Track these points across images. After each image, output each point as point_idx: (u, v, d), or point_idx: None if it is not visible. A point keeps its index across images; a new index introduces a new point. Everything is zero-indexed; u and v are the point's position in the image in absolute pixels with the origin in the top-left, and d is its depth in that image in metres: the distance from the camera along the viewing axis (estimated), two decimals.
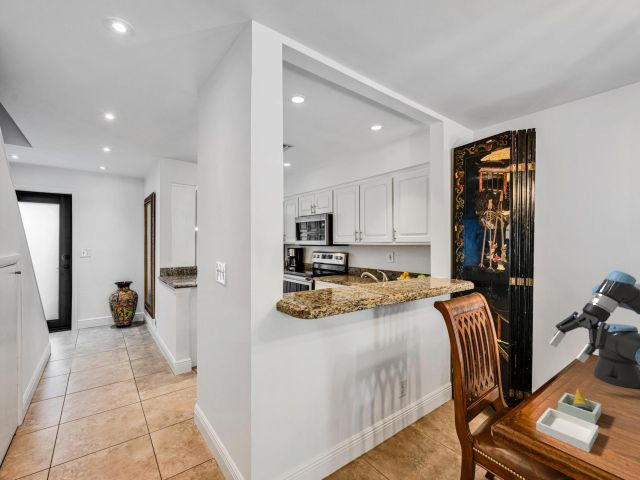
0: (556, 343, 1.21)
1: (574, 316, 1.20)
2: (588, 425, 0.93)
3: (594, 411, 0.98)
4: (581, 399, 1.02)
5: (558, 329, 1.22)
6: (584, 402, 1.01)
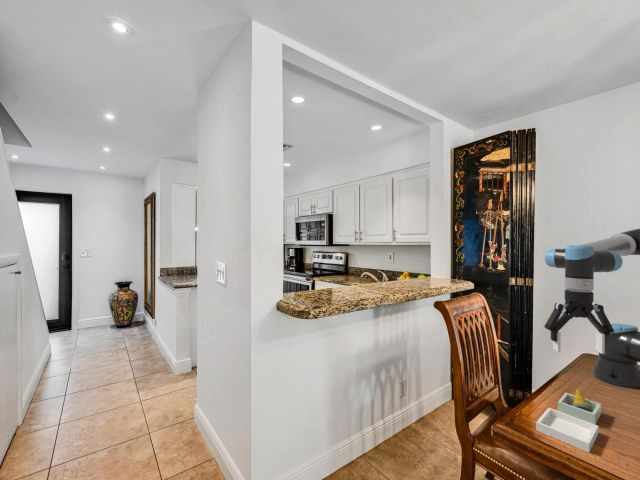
0: None
1: None
2: (588, 425, 0.93)
3: (594, 411, 0.98)
4: (581, 399, 1.02)
5: (555, 332, 1.02)
6: (584, 402, 1.01)
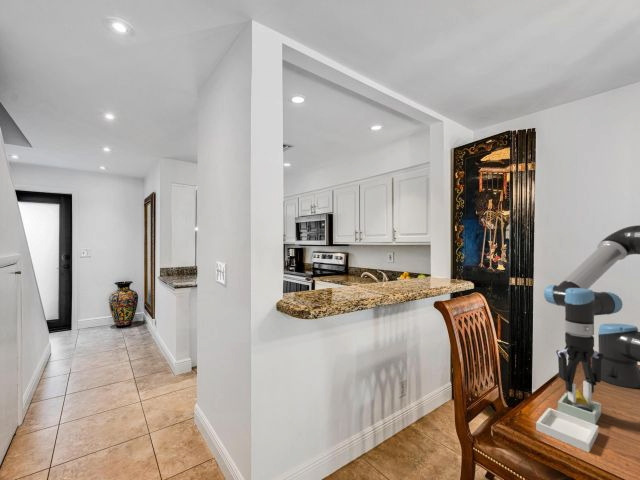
0: None
1: (565, 357, 1.02)
2: (588, 425, 0.93)
3: (594, 411, 0.98)
4: (581, 399, 1.02)
5: (571, 382, 1.02)
6: (584, 402, 1.01)
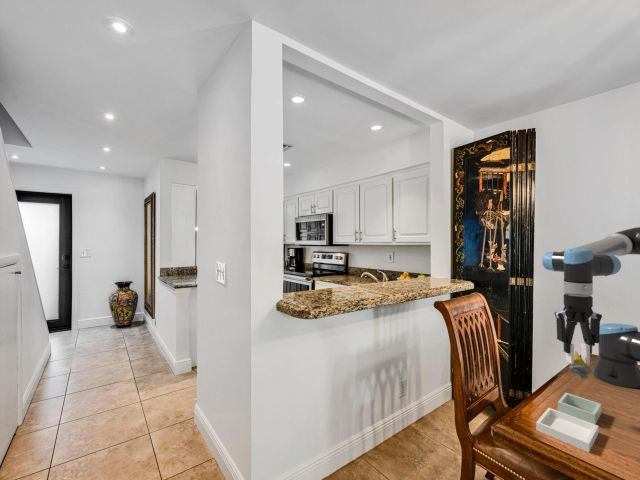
0: None
1: None
2: (588, 425, 0.93)
3: (594, 411, 0.98)
4: (579, 360, 1.01)
5: (569, 343, 1.01)
6: (582, 363, 1.00)
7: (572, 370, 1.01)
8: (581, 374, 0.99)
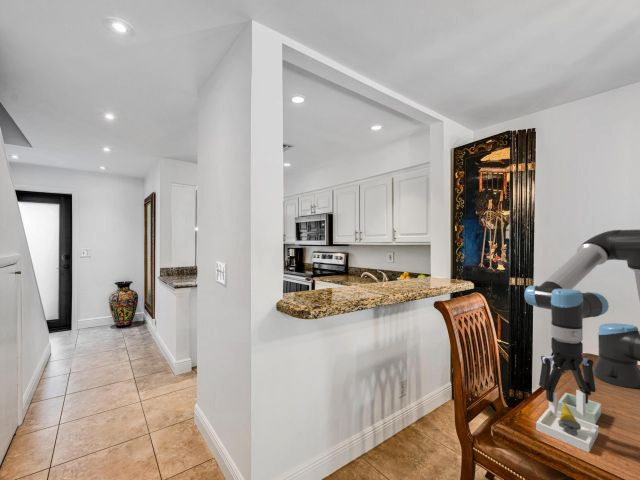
0: None
1: (550, 364, 0.92)
2: (588, 425, 0.93)
3: (594, 411, 0.98)
4: (568, 414, 0.93)
5: (552, 391, 0.92)
6: (572, 418, 0.92)
7: (561, 425, 0.93)
8: (571, 431, 0.91)
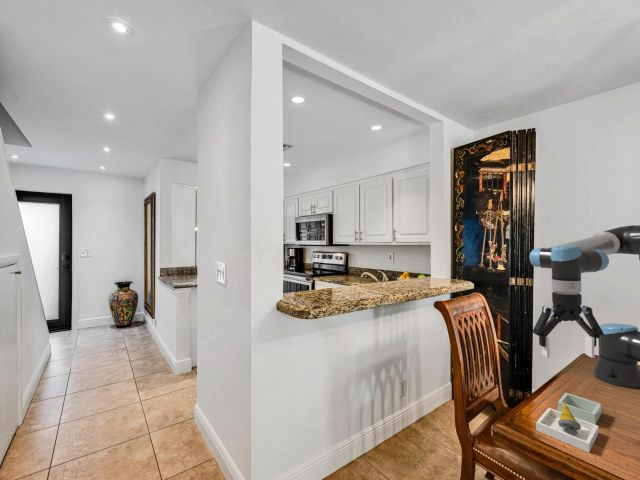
0: None
1: (550, 313, 0.98)
2: (588, 425, 0.93)
3: (594, 411, 0.98)
4: (568, 414, 0.93)
5: (544, 337, 0.98)
6: (572, 418, 0.92)
7: (561, 425, 0.93)
8: (571, 431, 0.91)
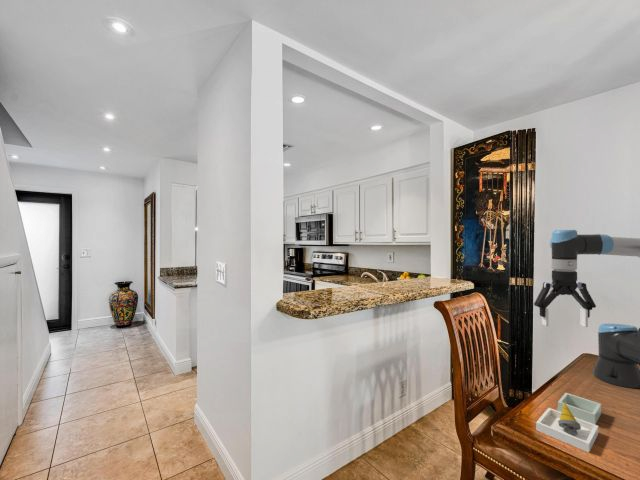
0: None
1: (549, 288, 1.13)
2: (588, 425, 0.93)
3: (594, 411, 0.98)
4: (568, 414, 0.93)
5: (544, 308, 1.13)
6: (572, 418, 0.92)
7: (561, 425, 0.93)
8: (571, 431, 0.91)
